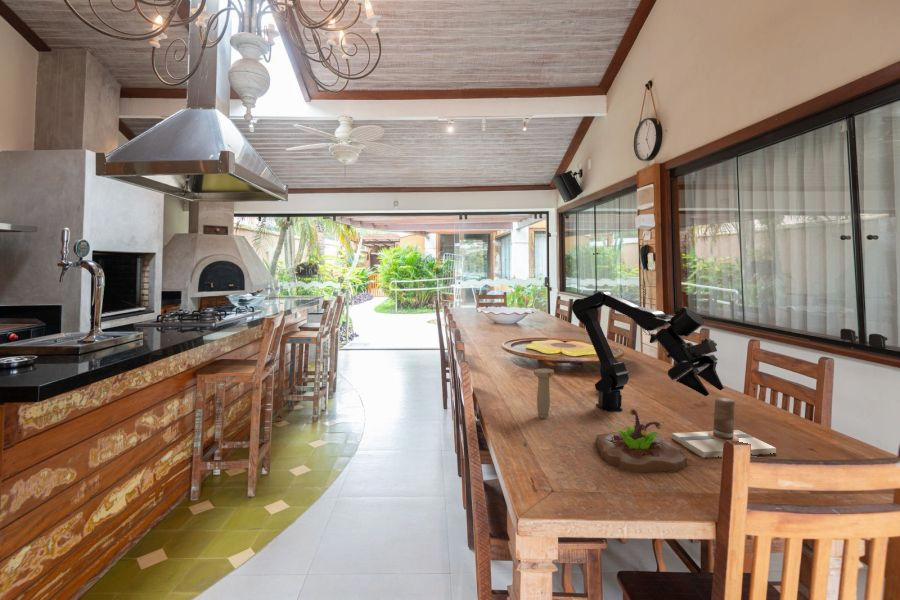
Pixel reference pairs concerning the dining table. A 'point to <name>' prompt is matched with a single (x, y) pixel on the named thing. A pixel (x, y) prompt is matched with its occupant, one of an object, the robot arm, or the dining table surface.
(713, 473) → the dining table surface
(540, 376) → the handle
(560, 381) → the dining table surface
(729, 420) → the grey-brown upright cylinder
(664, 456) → the plant
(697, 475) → the dining table surface
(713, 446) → the board
